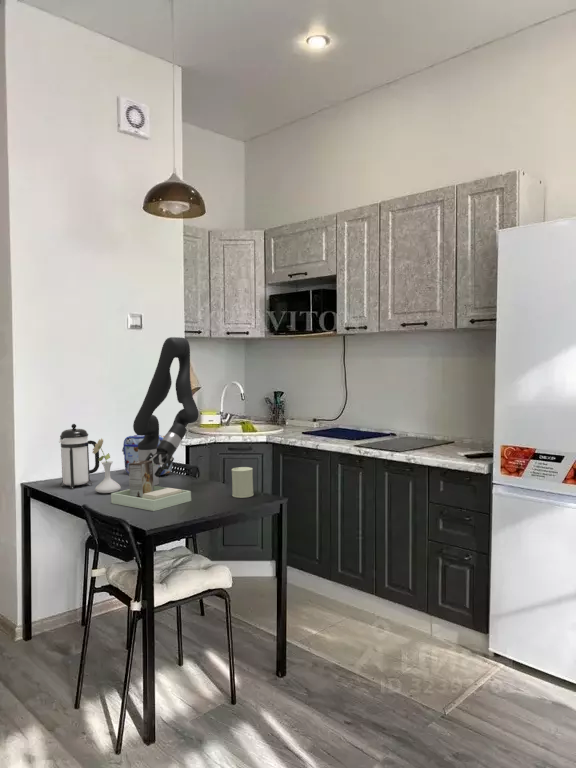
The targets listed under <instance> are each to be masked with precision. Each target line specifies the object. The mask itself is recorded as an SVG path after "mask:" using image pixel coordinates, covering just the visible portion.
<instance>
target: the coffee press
mask: <svg viewBox="0 0 576 768" xmlns="http://www.w3.org/2000/svg"><path fill="white" fill-rule="evenodd" d="M88 437H89V433H88V432H87V430H85V429H83V428H77V424H75V423H72V424H71V428H69V429H65V430H63V431H62V432H61V434H60V436H59V440H58V443H60V451H61V454H60V456H61V473H62V474H61V477H62V478H61V479H62V480H61V483H60V485H61V486H62V484H63V485H64V486H65V485H66V486H70V489H71V488H72V487H74V488H76V487H75V486H80V485H85V484H86V485H88V484H90V485H91V486H92V485H93V482H92V481H91V480H90V479H91V478H90V475H91V474H94V473H96V472H97V471H98V469H99V467H100V461H98V460H99V458H100V450H99V451H98V452H97V453H96V454H94V467H93V468H92V469H90V457H89V456H90V455H89V454H90V452H89V445H92V446H93V448H94V447H95V444H97V443H98V442H96V441H95V440H88V439H89V438H88ZM88 482H89V483H88ZM60 485H59V486H60Z"/></svg>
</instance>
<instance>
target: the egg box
mask: <svg viewBox="0 0 576 768" xmlns="http://www.w3.org/2000/svg"><path fill="white" fill-rule="evenodd" d="M181 490H182V489H180V488H172V487H167V488H165V489H161V490H157V491H153V492H149V493H145V494H143V495H142V498H144V499H150V500H156V499H160V498H164V497H168V496H172V495H176V494H180V493H182V491H181Z"/></svg>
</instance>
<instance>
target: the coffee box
mask: <svg viewBox="0 0 576 768" xmlns="http://www.w3.org/2000/svg"><path fill="white" fill-rule="evenodd" d="M128 481H129V482H128V484H129V489H130V496H132V497H138V498H142V495H143V494H145V493H149V492H153V491H154V488H153V466H152V461H136V462H133V463H131V464H129V474H128Z"/></svg>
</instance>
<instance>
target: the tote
mask: <svg viewBox="0 0 576 768" xmlns="http://www.w3.org/2000/svg"><path fill="white" fill-rule="evenodd" d="M153 488H154V491H157V490H161V489H165V488H168V487H166V486H159V485H153ZM181 491H182V493H180V494H176V495H172V496H168V497H164V498H160V499H156V500H150V499H144V498H138V497H132V496H130V488H128V489H124V490H119V491H116V492H112V493H110V498H111V499H110V500H111V504H112V505H118V506H119V505H120V506H125V507H130V508H136V509H141V510H144V511H145V510H146V511H150V512H151V511H152V512H155V511H159V510H163V509H167V508H170V507H175V506H177V505H182V504H184V503H188V502H192V491H191V490H186V489H181Z"/></svg>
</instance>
